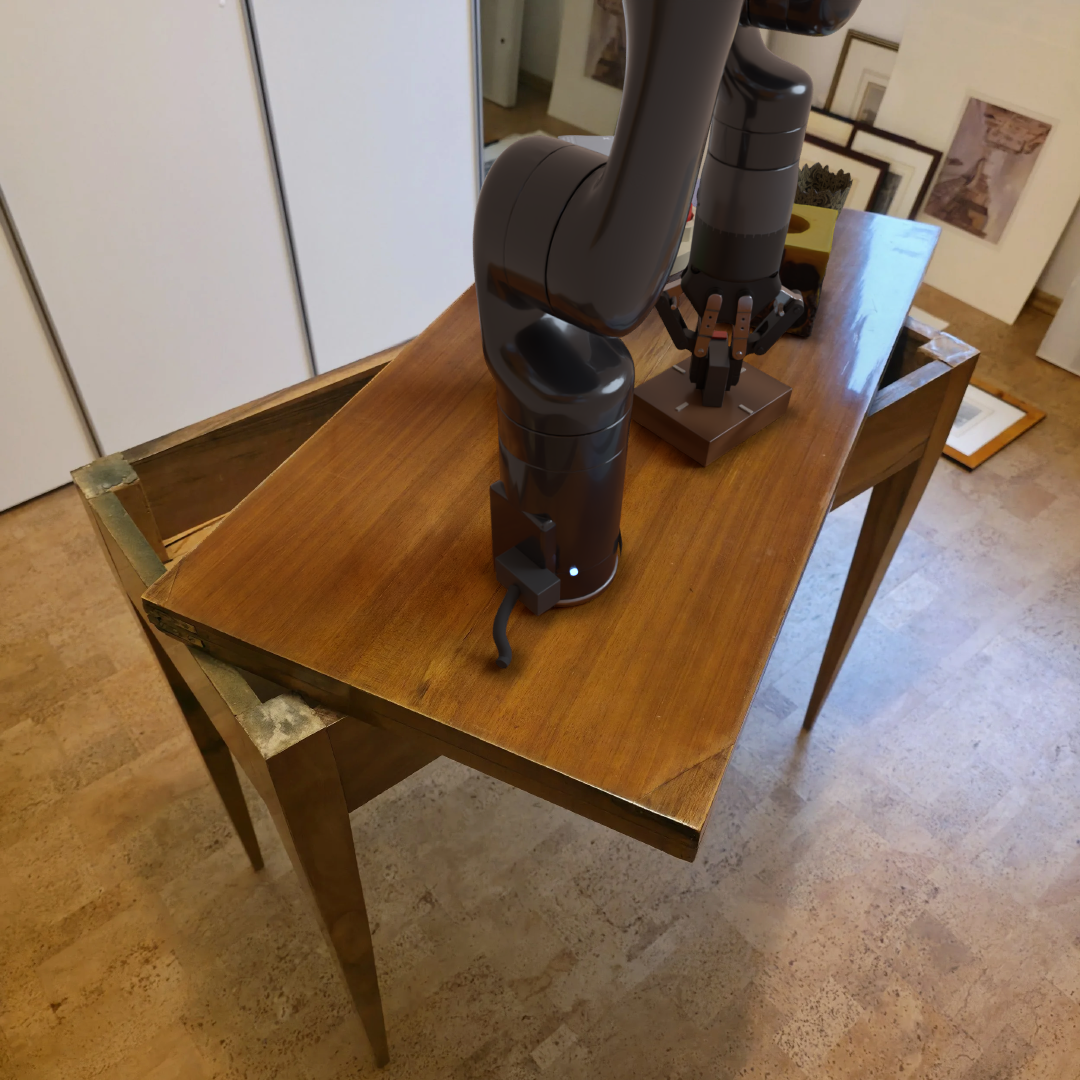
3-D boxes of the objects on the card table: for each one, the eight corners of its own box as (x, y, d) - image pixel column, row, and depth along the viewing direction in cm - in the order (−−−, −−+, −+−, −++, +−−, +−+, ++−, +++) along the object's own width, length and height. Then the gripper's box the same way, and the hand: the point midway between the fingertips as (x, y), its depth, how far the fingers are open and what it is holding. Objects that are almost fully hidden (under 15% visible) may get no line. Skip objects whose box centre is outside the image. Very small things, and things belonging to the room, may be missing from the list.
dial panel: (705, 467, 80) (710, 440, 77) (626, 415, 85) (629, 389, 83) (786, 413, 85) (793, 386, 83) (708, 367, 90) (712, 341, 88)
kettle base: (667, 277, 103) (671, 246, 100) (607, 246, 108) (609, 215, 105) (733, 244, 108) (739, 213, 105) (673, 216, 113) (677, 185, 110)
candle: (810, 340, 94) (833, 254, 87) (717, 323, 96) (732, 237, 89) (821, 292, 101) (843, 209, 93) (733, 277, 103) (748, 194, 96)
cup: (847, 238, 109) (865, 175, 104) (816, 260, 106) (832, 195, 100) (796, 219, 113) (810, 156, 107) (764, 239, 109) (777, 175, 103)
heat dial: (721, 407, 81) (730, 364, 77) (702, 406, 81) (709, 363, 78) (720, 372, 85) (728, 330, 81) (701, 371, 85) (708, 329, 81)
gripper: (656, 225, 68) (637, 404, 81) (836, 235, 67) (789, 415, 79) (658, 183, 73) (640, 357, 86) (825, 191, 72) (783, 366, 85)
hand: (712, 384), depth 83 cm, fingers closed on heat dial, 2 cm apart
